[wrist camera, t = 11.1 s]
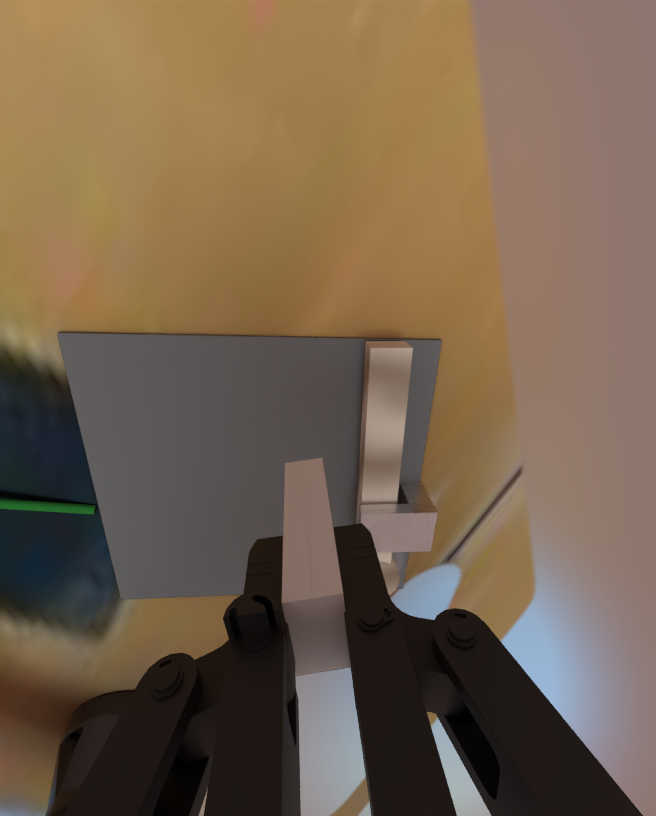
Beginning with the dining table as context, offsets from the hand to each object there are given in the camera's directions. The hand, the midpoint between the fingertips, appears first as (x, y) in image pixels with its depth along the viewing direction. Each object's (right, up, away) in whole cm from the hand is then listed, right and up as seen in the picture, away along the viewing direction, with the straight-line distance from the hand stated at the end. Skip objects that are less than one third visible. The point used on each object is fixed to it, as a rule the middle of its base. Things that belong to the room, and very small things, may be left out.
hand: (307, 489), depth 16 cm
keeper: (+6, -5, +20) cm, 21 cm away
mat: (-5, -3, +18) cm, 19 cm away
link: (+5, -3, +18) cm, 19 cm away
